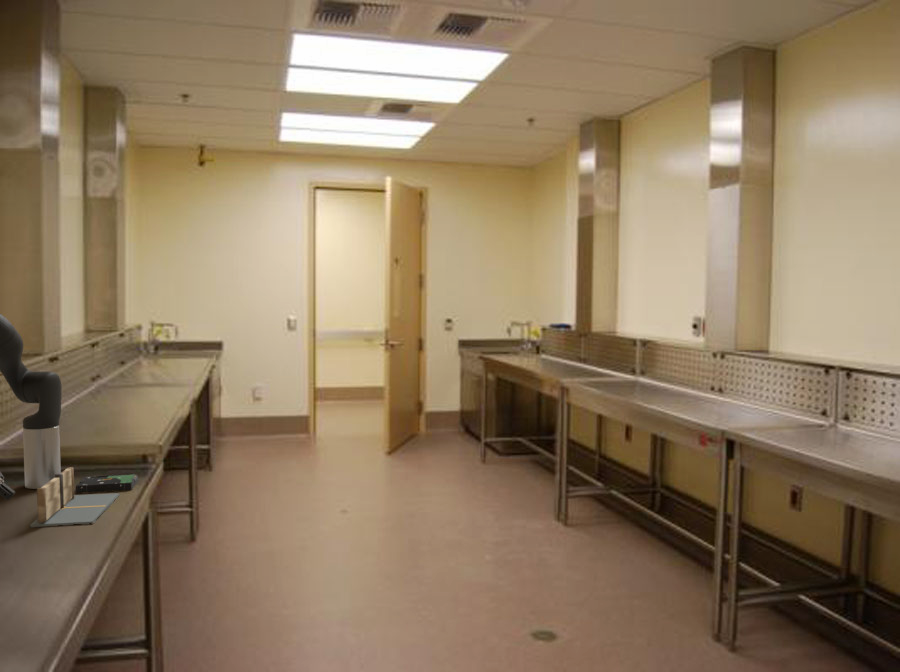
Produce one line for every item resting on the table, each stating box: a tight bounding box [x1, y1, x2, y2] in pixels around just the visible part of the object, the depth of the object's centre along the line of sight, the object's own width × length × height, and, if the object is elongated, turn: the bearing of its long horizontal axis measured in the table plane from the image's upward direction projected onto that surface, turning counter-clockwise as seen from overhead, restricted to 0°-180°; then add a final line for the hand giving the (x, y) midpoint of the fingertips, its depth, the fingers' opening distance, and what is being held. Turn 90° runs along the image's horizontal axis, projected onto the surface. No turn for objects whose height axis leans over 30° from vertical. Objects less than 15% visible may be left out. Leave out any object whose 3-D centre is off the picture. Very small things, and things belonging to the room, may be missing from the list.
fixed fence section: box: [55, 466, 75, 509], centre depth 192 cm, size 10×2×10 cm, turn 11°
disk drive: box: [75, 474, 139, 494], centre depth 211 cm, size 10×3×15 cm
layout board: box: [29, 492, 120, 528], centre depth 189 cm, size 25×14×1 cm, turn 11°
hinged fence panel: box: [36, 478, 60, 522], centre depth 180 cm, size 12×2×8 cm, turn 11°
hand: (11, 496), depth 175 cm, fingers closed
